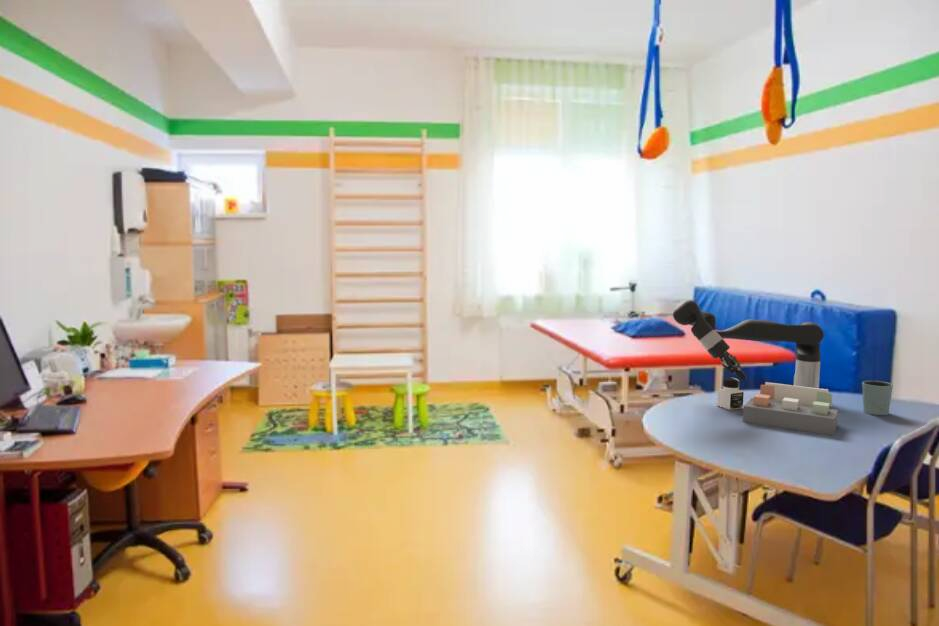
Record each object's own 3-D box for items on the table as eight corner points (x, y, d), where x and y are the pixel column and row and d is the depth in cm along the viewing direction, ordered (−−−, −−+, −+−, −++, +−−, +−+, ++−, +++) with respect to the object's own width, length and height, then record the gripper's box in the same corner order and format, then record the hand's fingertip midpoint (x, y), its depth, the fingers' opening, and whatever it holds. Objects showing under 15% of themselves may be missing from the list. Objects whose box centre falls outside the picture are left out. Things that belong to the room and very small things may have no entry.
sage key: (811, 416, 236) (812, 404, 236) (813, 413, 240) (814, 401, 240) (827, 418, 233) (828, 406, 233) (828, 415, 238) (829, 403, 237)
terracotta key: (753, 407, 248) (753, 396, 247) (755, 405, 252) (756, 393, 251) (767, 409, 245) (767, 398, 244) (769, 406, 249) (770, 395, 248)
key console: (742, 421, 246) (744, 390, 244) (753, 409, 261) (754, 380, 260) (832, 435, 229) (835, 402, 227) (838, 422, 245) (840, 391, 243)
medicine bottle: (730, 410, 261) (731, 381, 260) (716, 406, 268) (718, 377, 266) (743, 408, 264) (744, 379, 263) (729, 404, 270) (731, 375, 269)
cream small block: (781, 411, 242) (782, 400, 241) (783, 408, 246) (784, 397, 245) (796, 414, 239) (797, 402, 239) (798, 410, 243) (799, 399, 243)
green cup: (893, 417, 251) (895, 387, 249) (863, 414, 254) (865, 385, 252) (886, 410, 260) (888, 381, 258) (857, 408, 263) (859, 379, 262)
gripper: (711, 347, 262) (740, 381, 257) (702, 352, 251) (733, 388, 246) (725, 336, 258) (756, 370, 253) (717, 340, 248) (749, 376, 242)
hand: (744, 379), depth 250 cm, fingers closed
